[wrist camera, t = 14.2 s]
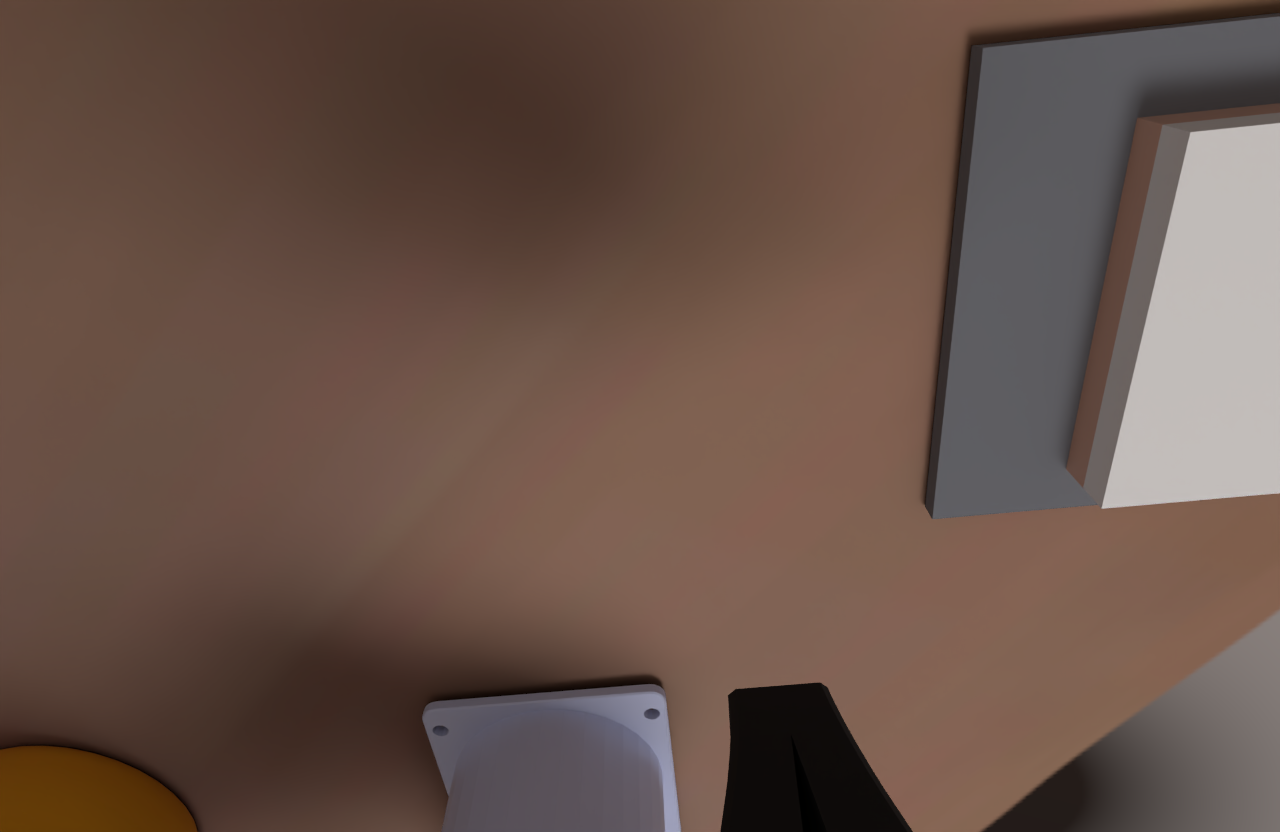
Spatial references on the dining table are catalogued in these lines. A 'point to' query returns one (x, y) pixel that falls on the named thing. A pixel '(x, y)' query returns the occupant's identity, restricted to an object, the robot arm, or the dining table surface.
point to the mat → (1054, 237)
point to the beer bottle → (82, 794)
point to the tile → (1188, 318)
